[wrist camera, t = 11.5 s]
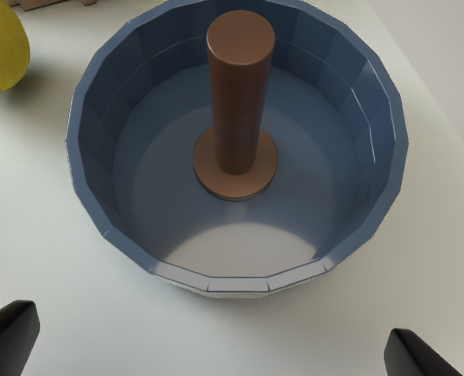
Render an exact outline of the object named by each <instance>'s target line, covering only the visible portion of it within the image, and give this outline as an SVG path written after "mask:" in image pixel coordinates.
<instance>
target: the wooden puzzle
mask: <svg viewBox="0 0 464 376" xmlns="http://www.w3.org/2000/svg"><path fill="white" fill-rule="evenodd" d="M58 1H62V0H5V2H6V3H7V4H8V5H9V6H12V5H15V4H19V3H20V5H21V6H22V8H23V9H24V10H28V9H32V8H36V7H40V6H44V5H47V4H51V3H54V2H58ZM82 1H83V3H84V5H87V4H91V3H95V2H96V0H82Z"/></svg>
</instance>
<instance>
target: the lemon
mask: <svg viewBox="0 0 464 376" xmlns="http://www.w3.org/2000/svg"><path fill="white" fill-rule="evenodd" d="M29 60H30V47H29V42H28V38H27V36H26V33H25V31H24V28H23V26H22V24H21V22H20V20H19V18H18V17H17V15H16V14H15V13H14V11H13V10H12V9H11V8H10V6H9V5H8V4H7V3H6V2H5V0H0V92H2V91H4V90H7V89H9V88H11V87H12V86H14V85H15V84H17V83H18V82H19V80H20V79H21V78H22V77H23V76H24V74H25V72H26V71H27V68H28V64H29Z"/></svg>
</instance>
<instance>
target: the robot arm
mask: <svg viewBox="0 0 464 376" xmlns="http://www.w3.org/2000/svg"><path fill="white" fill-rule="evenodd" d="M39 331H40V322H39V318H38V313H37V309H36V305H35V303H34V302H33V301H29V300H16V301H13V302H12V303H10V304H8V305H7V306H5V307H3V308H2V309H0V376H21V373H22V371H23V369H24V366H25V364H26V362H27V360H28V357H29V355H30V353H31V350H32V348H33V346H34V344H35V341H36V339H37V337H38V334H39ZM384 361H385V366H386V370H387V375H388V376H462V375H461V374H460V373H459V372H458V371H457V370H456V369H454V368H453V367H452V366H451V365H450V364H449V363H448V362H447V361H445V360H444V359H443V358H442V357H441V356H440V355H439V354H438V353H436V352H435V351H434V350H433V349H432V348H431V347H430V346H429V345H427V344H426V343H425V342H424V341H423V340H422V339H421V338H420V337H418V336H417V335H416V334H415V333H414V332H413V331H411V330H409V329H400V328H394V329H393V330H392V331H391V333H390V336H389V339H388V342H387V345H386V348H385V351H384Z"/></svg>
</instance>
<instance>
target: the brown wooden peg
mask: <svg viewBox="0 0 464 376" xmlns="http://www.w3.org/2000/svg"><path fill="white" fill-rule="evenodd" d="M206 41H207V53H208V66H209V79H210V92H211V104H212V117H213V126H211V127H210V128H208V129H207V130H206V131H205V132H204V133H203V134H202V135H201V136H200V137H199V139H198V141H197V142H196V144H195V147H194V151H193V167H194V171H195V174H196V177H197V179H198V181H199V183H200V184H201V185H202V186H203V187H204V188H205V189H206V190H207V191H208V192H209V193H210V194H212V195H214V196H216V197H218V198H220V199H224V200H229V201H243V200H247V199H250V198H253V197H255V196H257V195H259V194H260V193H262V192H263V191H264V190H265V189H266V188H267V187H268V186H269V185H270V183H271V182H272V180H273V178H274V175H275V173H276V169H277V165H278V154H277V149H276V146H275V144H274V142H273V140H272V139H271V137H270V136H269V135H268V134H267V132H265V131H264V130H263V129H262V128H260V126H261V121H262V115H263V109H264V103H265V97H266V91H267V86H268V80H269V74H270V68H271V62H272V56H273V50H274V45H275V34H274V31H273V28H272V27H271V25H270V24H269V22H268V21H267V20H266V19H265V18H263V17H262V16H260V15H258V14H256V13H253V12H250V11H244V10H237V11H230V12H227V13H225V14H222V15H221V16H219V17H218V18H216V19H215V20H214V21H213V22H212V24H211V25H210V27H209V29H208V31H207V37H206Z"/></svg>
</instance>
